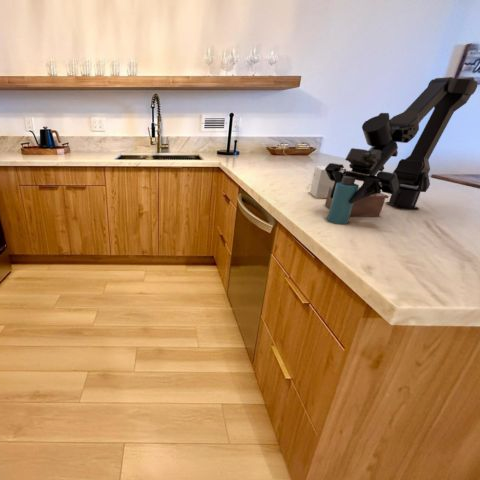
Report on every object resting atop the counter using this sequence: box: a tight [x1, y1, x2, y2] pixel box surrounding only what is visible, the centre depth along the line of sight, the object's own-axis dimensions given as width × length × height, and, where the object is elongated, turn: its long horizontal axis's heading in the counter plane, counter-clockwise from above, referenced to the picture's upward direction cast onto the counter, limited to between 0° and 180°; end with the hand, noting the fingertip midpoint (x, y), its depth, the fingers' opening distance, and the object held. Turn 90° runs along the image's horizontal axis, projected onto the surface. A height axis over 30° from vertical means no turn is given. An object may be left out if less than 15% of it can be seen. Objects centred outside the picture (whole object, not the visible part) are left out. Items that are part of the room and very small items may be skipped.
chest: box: [324, 189, 386, 218], centre depth 92 cm, size 12×11×6 cm
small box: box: [309, 165, 335, 199], centre depth 108 cm, size 8×6×10 cm
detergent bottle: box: [327, 176, 360, 225], centre depth 82 cm, size 5×5×13 cm
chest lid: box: [329, 186, 389, 199], centre depth 90 cm, size 12×11×4 cm
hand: (340, 200), depth 82 cm, fingers closed on detergent bottle, 5 cm apart
